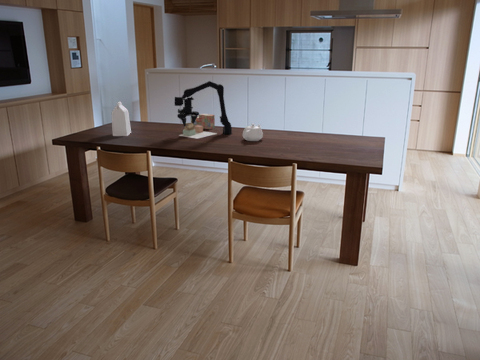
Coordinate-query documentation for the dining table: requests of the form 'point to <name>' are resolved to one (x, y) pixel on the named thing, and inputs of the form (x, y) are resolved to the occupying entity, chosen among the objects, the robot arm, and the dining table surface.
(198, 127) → the terracotta cube
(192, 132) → the pedestal
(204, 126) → the stack of blocks
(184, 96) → the robot arm
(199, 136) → the board
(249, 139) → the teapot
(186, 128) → the beech cube
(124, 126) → the milk
